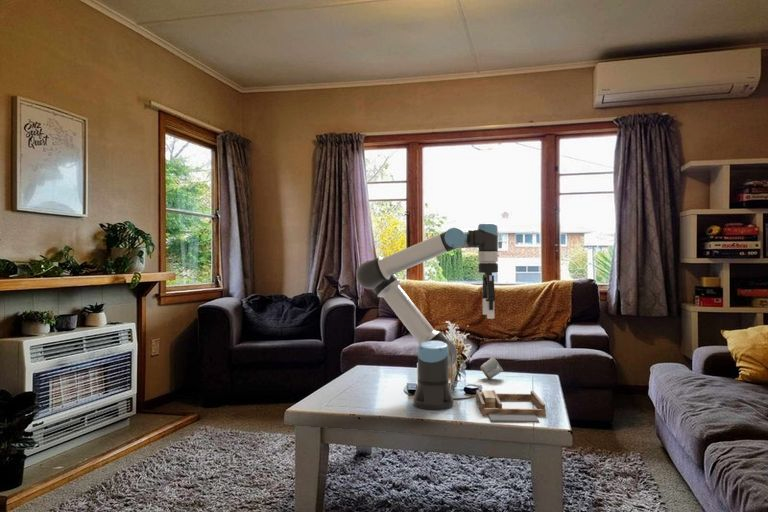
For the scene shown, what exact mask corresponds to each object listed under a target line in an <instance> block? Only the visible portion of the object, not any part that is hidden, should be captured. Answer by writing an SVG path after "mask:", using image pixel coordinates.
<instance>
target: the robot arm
mask: <svg viewBox="0 0 768 512" xmlns="http://www.w3.org/2000/svg"><path fill="white" fill-rule="evenodd" d="M498 233H499V231H498V225H497V224H496V223H491V222H490V223H488V222H487V223H486V222H485V223H479V224H478V227H477V228H461V227H459V226H453V227H450V228H448V229H447V230H446V231H443V232H441V233H439V234H437V235H435V236H431V237H430V238H427V239H425V240H423V241H420V242H418V243H416V244H413V245H411V246H408V247H406V248H404V249H402V250H400V251H397V252H394V253H393V254H390V255H388V256H385V257H382V256H378V257H376V258H374V259H371V260H367V261H364V262H363V263H361V264H360V265H359V267H358V268H357V270H356V279H357V281H358V283H359V285H360V286H362V287H363V288H364V289H366V290H372V291H373V292H374V294H375V295H376V297H378V298H383V299H384V301H385V302H386V304H388V306H389V307H390V308H391V310H392V311H393V312H394V314H395V315H396V317H398V320H400V321H401V323H402V324H403V326H405V328H406V329H407V330H408V332H409V333H410V334H411V335H412V337H413V338H414V339H415V341H416V342H417V343H418V344H417V345H418V346H417V347H418V348H417V354H416V355H417V386H416V390H415V392H414V396H413V399H412V400H413V402H412V403H413V406H415V407H417V408H419V409H422V410H427V411H441V410H448V409H451V408H452V407H454V397H453V395H452V392H451V389H450V385H449V369H450V368H451V367H452V366H453V365H454V363H455V362H456V360H457V357H458V356H457V355H458V351H457V347H456V344H455V343H454V342H453V341H451V340H450V339H449V338H446V337H445V335H444V334H443V333H442V331H440V330H435V329H434V328H433V325H431V323H429V321H428V320H427V318H426V317H425V316H424V315H423V313H422V312H421V311H420V309H419V307H417V305H416V304H415V303H414V302H413V301H412V300H411V298H410V296H409V295H408V294H407V293H406V291H405V290H404V289H403V288H402V287H401V286H400V281H401V280H400V278H399V277H398V276H397V274H399V273H400V272H403V271H405V270H408V269H411V268H412V267H415V266H418V265H420V264H422V263H424V262H427V261H430V260H432V259H434V258H437V257H440V256H441V255H443V254H446V253H448V252H452V251H453V250H454V251H455V250H457V249H468V248H471V249H472V248H473V249H475V248H476V249H477V248H478V253H477V254H478V256H477V257H478V258H477V259H478V262H479V263H478V273H480V274H482V273H483V274H482V286H481V287H482V291H481V292H482V293H481V297H482V315H483V316H484V315H485V316H486V319H487V320H488V319H491V320H493V319H495V300H496V290H495V275H494V274H495V273H496V274H497V273H498V272H499V264H498V263H497V262H498V261H499V260H498V259H499V257H500V254H499V253H498V252H499V250H498V249H499V248H498V247H499V234H498Z"/></svg>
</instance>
